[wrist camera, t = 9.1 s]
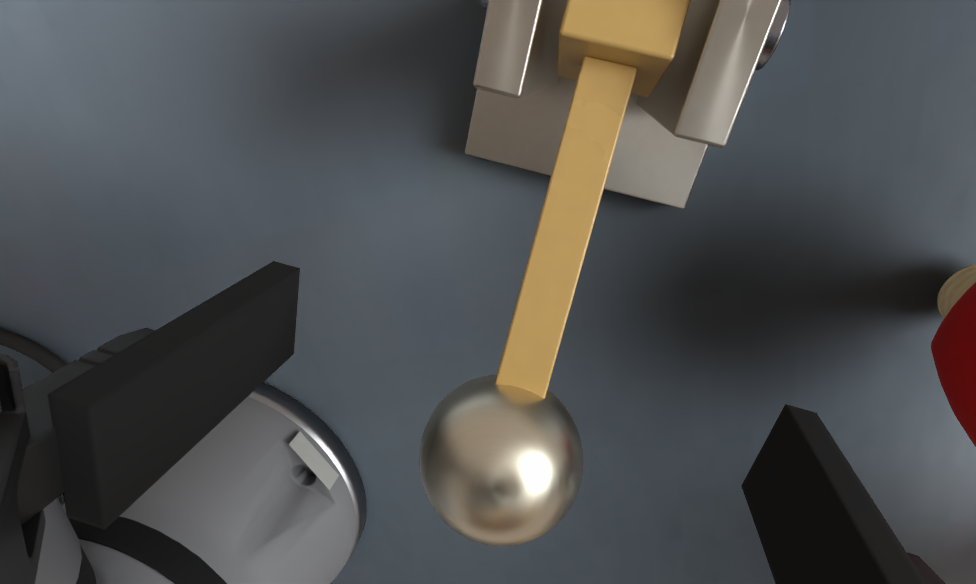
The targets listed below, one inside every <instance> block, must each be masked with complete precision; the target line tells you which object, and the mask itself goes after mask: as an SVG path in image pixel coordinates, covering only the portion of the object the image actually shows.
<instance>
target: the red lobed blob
mask: <svg viewBox="0 0 976 584" xmlns="http://www.w3.org/2000/svg"><path fill="white" fill-rule="evenodd" d="M937 306H938V309H939V312H940V314H941V315H942V317H943V318H944V320H943V321H942V323H941V325H940V327H939V329H938V331H937V333H936V335H935V337H934V339H933V341H932V344H931V349H932V354H933V358H934V361H935V365H936V369H937V372H938V376H939V379H940V382H941V385H942V387H943V390H944V392H945V394H946V396H947V399H948V401H949V403H950V406H951V408H952V410H953V412H954V414H955V416H956V417H957V419H958V421H959V422H960V424H961V425H962V427H963V428H964V430H965V431H966V433H967V435H968V436H969V438H970V439H971V441H972V442H973V444H974V445H975V446H976V265H972V266H969V267H966V268H964V269H962V270H960V271H958V272H956V273H955V274H953V275H952V276H951V277H950V278H949V279H948V280H947V281H946V282H945V283H944V284H943V286H942V287H941V289H940V291H939V294H938V299H937Z"/></svg>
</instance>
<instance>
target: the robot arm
mask: <svg viewBox="0 0 976 584" xmlns="http://www.w3.org/2000/svg"><path fill="white" fill-rule="evenodd" d="M299 272H300V268H296V267H293V266H289V265H286V264H282V263H279V262H275V261H273V262H271V263H270V264H268V265H266V266H265V267H263V268H261V269H259V270H258V271H256V272H254V273H253V274H251V275H249V276H248V277H246V278H244V279H242V280H241V281H239V282H237V283H236V284H234V285H232V286H231V287H229V288H227V289H225V290H224V291H222V292H220V293H219V294H217V295H215V296H213V297H212V298H210V299H208V300H207V301H205V302H203V303H202V304H200V305H198V306H196V307H195V308H193V309H191V310H190V311H188V312H186V313H185V314H183V315H181V316H179V317H178V318H176V319H174V320H173V321H171V322H169V323H168V324H166V325H164V326H162V327H161V328H159V329H157V330H156V331H155V330H152V329H148V328H144V329H141V330H137V331H134V332H130V333H127V334H124V335H120V336H118V337H116V338H114V339H113V340H111V341H109V342H107V343H105V344H104V345H102V346H100V347H98V349H97V350H96V351H95V350H93V351H91V352H89V353H87V354H85V355H84V356H82V357H80V359H79V361H77V360H75V361H73V362H71V363H69V364H66V363H65V362H64V361H63V360H62V359H60V358H59V357H58V356H56V355H55V354H53V353H52V352H50V351H49V350H47V349H45V348H44V347H42V346H40V345H38V344H36V343H35V342H32V341H30V340H28V339H26V338H24V337H21V336H19V335H17V334H14V333H11V332H9V331H6V330H3V329H0V344H1V345H4V346H6V347H9V348H11V349H14V350H16V351H18V352H20V353H22V354H24V355H27V356H28V357H30V358H32V359H34V360H36V361H37V362H39V363H40V364H42V365H43V366H45V367H46V368H48V369H49V370H50V371H51V372H53V373H51V374H49V375H48V376H46V377H44V378H42V379H40V380H39V381H37V382H35V383H33V384H31V385H29V386H28V387H26V388H24V389H22V385H21V380H20V374H19V368H18V363H17V361H15V360H14V359H12V358H11V357H10V356H8V355H3V354H0V584H330V583H331V582H332V581H333V580H334V579H335V578H336V576H337V575H338V574H339V572H340V571H341V570H342V568H343V567H344V566H345V564H346V563H347V562H348V560H349V558H350V556H351V554H352V553H353V551H354V549H355V547H356V545H357V543H358V541H359V539H360V537H361V534H362V531H363V529H364V525H365V520H366V497H365V491H364V487H363V483H362V480H361V477H360V474H359V472H358V469H357V467H356V465H355V463H354V461H353V459H352V458H351V456H350V454H349V453H348V451H347V449H346V448H345V447H344V445H343V444H342V442H341V441H340V440H339V438H338V437H337V436H336V435H335V434H334V433H333V431H332V430H331V429H330V428H329V427H328V426H327V425H326V424H325V423H324V422H323V421H322V420H321V419H320V418H319V417H317V416H316V415H315V414H314V413H313V412H312V411H310V410H309V409H308V408H306V407H305V406H304V405H302V404H301V403H300V402H298V401H296V400H295V399H293V398H292V397H290V396H288V395H287V394H285V393H283V392H281V391H279V390H277V389H275V388H273V387H271V386H268V385H266V384H264V383H263V382H264V381H265V380H266V379H267V378H268V377H269V376H270V375H271V374H272V373H274V372H275V371H276V370H277V369H278V368H279V367H280V366H281V365H282V364H283V363H284V362H285V361H286V360H287V359H289V358H290V357H291V356H292V355H293V354H294V342H295V328H296V314H297V300H298V286H299ZM742 489H743V491H744V494H745V497H746V500H747V503H748V506H749V509H750V511H751V514H752V517H753V520H754V523H755V526H756V529H757V531H758V534H759V537H760V540H761V543H762V546H763V549H764V551H765V554H766V557H767V560H768V563H769V566H770V569H771V571H772V574H773V577H774V580H775V583H776V584H945V582H944V581H943V580H942V579H941V578H940V577H939V576H938V575H937V574H936V573H935V572H934V571H933V570H932V569H931V568H930V567H929V566H928V565H927V564H926V563H925V562H924V561H923V560H922V559H921V558H920V557H919V556H917V555H913V554H910V553H906V551H905V550H904V548H903V547H902V545H901V544H900V542H899V540H898V539H897V537H896V536H895V534H894V533H893V531H892V530H891V528H890V526H889V525H888V523H887V522H886V520H885V519H884V517H883V516H882V514H881V512H880V511H879V509H878V508H877V506H876V505H875V503H874V502H873V500H872V498H871V497H870V495H869V494H868V492H867V491H866V489H865V488H864V486H863V485H862V483H861V481H860V480H859V478H858V477H857V475H856V474H855V472H854V471H853V469H852V467H851V466H850V464H849V463H848V461H847V460H846V458H845V457H844V455H843V453H842V452H841V450H840V449H839V447H838V446H837V444H836V443H835V441H834V439H833V438H832V436H831V435H830V433H829V432H828V430H827V429H826V427H825V426H824V424H823V422H822V421H821V419H820V418H819V416H818V415H817V413H815V412H811V411H808V410H804V409H800V408H797V407H793V406H790V405H786V404H785V406H784V408H783V410H782V412H781V414H780V415H779V417H778V419H777V421H776V423H775V425H774V427H773V428H772V430H771V432H770V434H769V436H768V438H767V440H766V441H765V443H764V445H763V447H762V449H761V451H760V452H759V454H758V456H757V458H756V460H755V462H754V464H753V465H752V467H751V469H750V471H749V473H748V475H747V477H746V478H745V480H744V482H743V484H742ZM61 494H63V495H64V504H63V505H62V506H61V504H60V502H59V500H58V497H59V496H60V495H61Z"/></svg>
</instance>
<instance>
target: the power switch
mask: <svg viewBox="0 0 976 584" xmlns="http://www.w3.org/2000/svg"><path fill="white" fill-rule="evenodd" d="M567 1H568V0H479V3H480V6H481V7H482V8H484V9H487V12H486V17H485V22H484V28H483V33H482V38H481V44H480V49H479V54H478V60H477V65H476V70H475V76H474V81H473V86H474V87H475V88H476V89H477V90H476V95H475V100H474V106H473V111H472V116H471V121H470V126H469V132H468V137H467V142H466V147H465V154H467V155H470V156H474V157H478V158H482V159H486V160H490V161H494V162H498V163H502V164H506V165H510V166H514V167H518V168H522V169H526V170H530V171H534V172H538V173H542V174H546V175H550V176H551V174H552V171H553V167H554V163H555V160H556V156H557V152H558V149H559V145H560V141H561V138H562V134H563V130H564V127H565V123H566V119H567V116H568V112H569V108H570V105H571V101H572V97H573V94H574V90H575V86H576V83H577V81H576V80H571V79H567V78H563V77H559V76H558V75H557V61H558V45H559V31H560V27H561V23H562V19H563V16H564V12H565V8H566V4H567ZM790 5H791V0H691V1H690V4H689V8H688V11H687V15H686V18H685V22H684V25H683V29H682V32H681V36H680V39H679V43H678V46H677V50H676V53H675V57H674V59H673V60H672V62H671V63H670V65H669V66H668V68H667V70H666V71H665V73H664V74H663V76H662V77H661V79H660V81H659V82H658V84H657V85H656V87H655V88H654V90H653V92H652V93H651V95H650V96H649V97H643V96H639V95H635V94H630V97H629V101H628V104H627V108H626V112H625V115H624V119H623V122H622V126H621V129H620V133H619V136H618V140H617V144H616V147H615V151H614V154H613V158H612V161H611V165H610V168H609V172H608V176H607V179H606V183H605V186H604V189H605V190H609V191H613V192H617V193H621V194H625V195H629V196H633V197H636V198H640V199H644V200H648V201H652V202H656V203H660V204H664V205H668V206H672V207H676V208H680V209H684V208H685V206H686V203H687V201H688V198H689V195H690V193H691V190H692V187H693V185H694V182H695V179H696V177H697V174H698V171H699V169H700V166H701V163H702V161H703V158H704V155H705V153H706V150H707V147H708V145H712V146H716V147H720V148H722V147H725V145H726V144H727V141H728V139H729V136H730V133H731V131H732V128H733V126H734V123H735V121H736V118H737V115H738V113H739V110H740V108H741V105H742V103H743V100H744V97H745V95H746V92H747V90H748V87H749V85H750V82H751V79H752V77H753V74H754V72H755V70H760V69H761V68H762V67H763V66H764V65H765V64H766V63H767V62H768V60H769V59H770V57H771V56H772V54H773V52H774V51H775V49H776V47H777V45H778V43H779V41H780V38H781V36H782V34H783V31H784V29H785V26H786V23H787V20H788V16H789V12H790Z"/></svg>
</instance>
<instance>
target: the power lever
mask: <svg viewBox="0 0 976 584" xmlns="http://www.w3.org/2000/svg"><path fill="white" fill-rule="evenodd" d="M690 1H691V0H568V1H567V4H566V8H565V12H564V16H563V19H562V23H561V27H560V31H559V45H558V61H557V75H558V76H559V77H563V78H567V79H571V80H576V81H577V83H576V86H575V90H574V94H573V97H572V101H571V105H570V108H569V112H568V116H567V119H566V123H565V127H564V130H563V134H562V138H561V141H560V145H559V149H558V152H557V156H556V160H555V163H554V167H553V171H552V174H551V178H550V182H549V185H548V189H547V193H546V196H545V200H544V204H543V207H542V211H541V215H540V218H539V222H538V226H537V229H536V233H535V237H534V240H533V244H532V248H531V251H530V255H529V259H528V262H527V266H526V270H525V273H524V277H523V281H522V284H521V288H520V292H519V295H518V299H517V303H516V306H515V310H514V314H513V318H512V321H511V325H510V329H509V332H508V336H507V340H506V343H505V347H504V351H503V354H502V358H501V362H500V365H499V369H498V373H497V375H488V376H483V377H479V378H476V379H473V380H470V381H468V382H466V383H464V384H462V385H460V386H459V387H457V388H456V389H454V390H453V391H452V392H451V393H449V394H448V395H447V396H446V397H445V398H444V399H443V400H442V401H441V402H440V403H439V404H438V406H437V407H436V408H435V410H434V411H433V413H432V414H431V416H430V419H429V421H428V423H427V425H426V427H425V430H424V433H423V436H422V440H421V445H420V455H419V466H420V474H421V479H422V483H423V487H424V490H425V492H426V495H427V497H428V499H429V501H430V503H431V505H432V507H433V508H434V510H435V511H436V513H437V514H438V515H439V516H440V517H441V518H442V520H443V521H444V522H445V523H446V524H447V525H449V526H450V527H451V528H452V529H453V530H455V531H456V532H457V533H459V534H460V535H462V536H464V537H466V538H468V539H470V540H473V541H475V542H478V543H482V544H486V545H492V546H512V545H518V544H522V543H525V542H529V541H531V540H533V539H536V538H538V537H540V536H541V535H543V534H545V533H546V532H548V531H549V530H550V529H552V528H553V527H554V526H555V525H556V524H557V523H558V522H559V521H560V520H561V519H562V518H563V517H564V516H565V514H566V513H567V511H568V510H569V509H570V507H571V505H572V504H573V502H574V500H575V498H576V495H577V492H578V490H579V487H580V484H581V479H582V474H583V448H582V443H581V438H580V435H579V432H578V429H577V426H576V424H575V422H574V420H573V418H572V416H571V415H570V413H569V411H568V410H567V408H566V407H565V406H564V405H563V404H562V402H561V401H560V400H559V399H558V398H557V397H556V396H555V395H554V394H552V393H551V392H550V391H549V390H547V389H548V385H549V382H550V378H551V375H552V371H553V368H554V364H555V360H556V357H557V353H558V350H559V346H560V343H561V339H562V336H563V332H564V328H565V325H566V321H567V318H568V314H569V311H570V307H571V304H572V300H573V296H574V293H575V289H576V286H577V282H578V279H579V275H580V272H581V268H582V264H583V261H584V257H585V254H586V250H587V247H588V243H589V240H590V236H591V232H592V229H593V225H594V222H595V218H596V215H597V211H598V208H599V204H600V200H601V197H602V193H603V190H604V186H605V183H606V179H607V176H608V172H609V168H610V165H611V161H612V158H613V154H614V151H615V147H616V144H617V140H618V136H619V133H620V129H621V126H622V122H623V119H624V115H625V112H626V108H627V104H628V101H629V97H630V94H635V95H639V96H643V97H649V96H650V95H651V93H652V92H653V90H654V88H655V87H656V85H657V84H658V82H659V81H660V79H661V77H662V76H663V74H664V73H665V71H666V70H667V68H668V66H669V65H670V63H671V62H672V60H673V59H674V57H675V53H676V50H677V46H678V43H679V39H680V36H681V32H682V29H683V25H684V22H685V18H686V15H687V11H688V8H689V4H690Z"/></svg>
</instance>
